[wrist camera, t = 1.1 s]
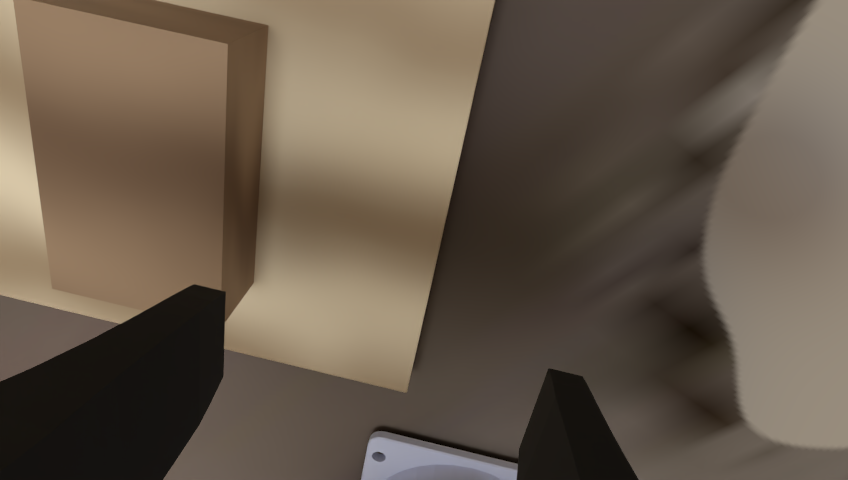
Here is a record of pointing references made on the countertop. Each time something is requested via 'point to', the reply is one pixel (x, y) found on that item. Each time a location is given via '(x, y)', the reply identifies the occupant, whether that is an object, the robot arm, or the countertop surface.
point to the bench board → (311, 179)
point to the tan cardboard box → (145, 145)
